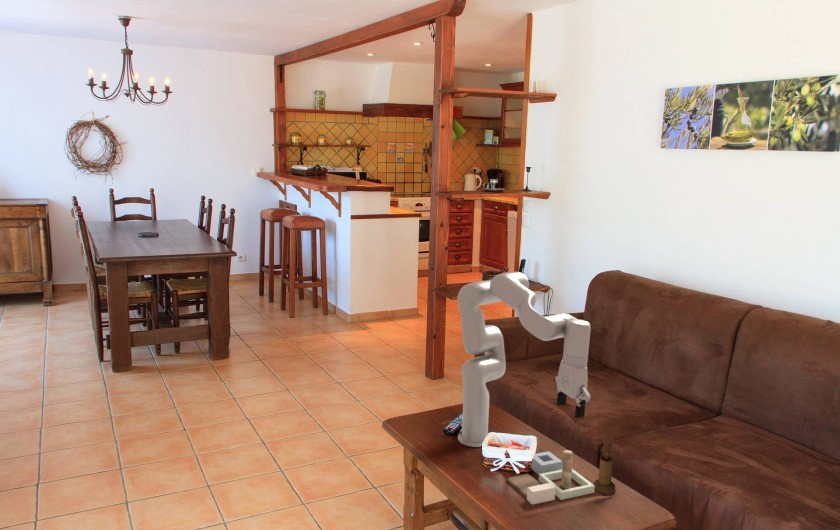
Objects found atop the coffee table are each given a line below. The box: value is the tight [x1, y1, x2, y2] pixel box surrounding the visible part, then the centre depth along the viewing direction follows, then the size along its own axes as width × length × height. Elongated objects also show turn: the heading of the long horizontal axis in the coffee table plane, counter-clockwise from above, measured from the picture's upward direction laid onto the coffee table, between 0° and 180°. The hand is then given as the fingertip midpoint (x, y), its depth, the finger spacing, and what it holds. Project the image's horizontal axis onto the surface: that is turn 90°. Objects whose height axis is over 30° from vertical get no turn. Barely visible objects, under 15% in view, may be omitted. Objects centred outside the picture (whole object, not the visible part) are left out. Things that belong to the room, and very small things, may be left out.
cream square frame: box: [538, 468, 595, 501], centre depth 202 cm, size 12×12×3 cm
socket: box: [531, 450, 563, 476], centre depth 213 cm, size 8×8×5 cm
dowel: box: [560, 449, 574, 490], centre depth 202 cm, size 3×3×12 cm
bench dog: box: [526, 483, 556, 505], centre depth 194 cm, size 3×8×5 cm, turn 112°
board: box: [506, 473, 542, 499], centre depth 202 cm, size 12×8×2 cm, turn 24°
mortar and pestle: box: [593, 436, 616, 497], centre depth 201 cm, size 7×6×18 cm
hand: (570, 410), depth 201 cm, fingers open, 9 cm apart
